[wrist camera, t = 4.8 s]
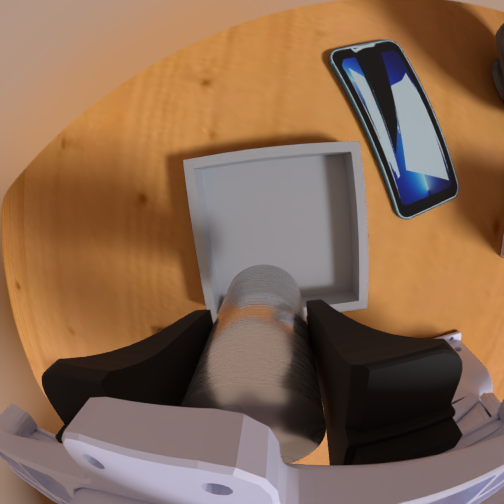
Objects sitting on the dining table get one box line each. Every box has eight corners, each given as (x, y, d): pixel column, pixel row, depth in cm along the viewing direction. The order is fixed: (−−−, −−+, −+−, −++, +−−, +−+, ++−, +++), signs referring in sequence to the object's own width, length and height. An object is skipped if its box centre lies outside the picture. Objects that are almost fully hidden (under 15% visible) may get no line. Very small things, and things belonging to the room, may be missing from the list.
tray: (349, 146, 19) (359, 141, 16) (358, 295, 21) (367, 307, 19) (193, 163, 20) (183, 160, 17) (216, 308, 23) (209, 322, 20)
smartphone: (399, 223, 19) (324, 51, 16) (394, 221, 20) (322, 56, 17) (461, 194, 18) (395, 38, 15) (455, 193, 19) (392, 42, 16)
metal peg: (302, 264, 14) (338, 384, 5) (298, 331, 15) (314, 467, 6) (225, 264, 14) (163, 376, 6) (229, 329, 15) (190, 461, 7)
